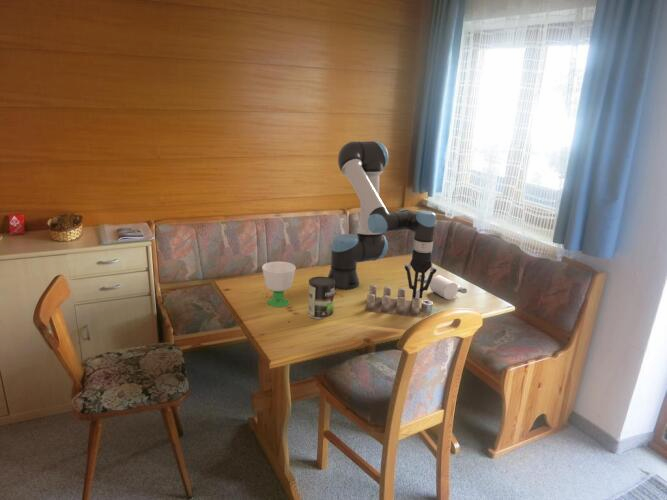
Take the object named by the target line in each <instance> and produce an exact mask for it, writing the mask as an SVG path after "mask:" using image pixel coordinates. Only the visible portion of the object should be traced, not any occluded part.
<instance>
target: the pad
mask: <svg viewBox="0 0 667 500" xmlns="http://www.w3.org/2000/svg"><path fill="white" fill-rule="evenodd" d="M439 311H441V308H440V307H432V312H429V313H426V314H427V317H429V316H428V315H431V314H434V313H436V312H439ZM441 312H442V311H441Z"/></svg>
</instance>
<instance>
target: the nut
mask: <svg viewBox="0 0 667 500" xmlns="http://www.w3.org/2000/svg"><path fill="white" fill-rule="evenodd" d="M433 304H434V303H433V301H432V300H428V299H423V300H421V303H420V312H424V313H426V314H427V313H429V312H432V308H434V307H433V306H434V305H433Z"/></svg>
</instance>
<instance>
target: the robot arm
mask: <svg viewBox="0 0 667 500" xmlns="http://www.w3.org/2000/svg"><path fill="white" fill-rule="evenodd" d="M388 163H389V152H388V149H387V147H386V146H385V145H384V144H383V143H382V142H380V141H374V140H373V141H353V140H352V141H349V142H347V143H345V144H344V145H342V147H341V148H340V150H339V152H338V155H337V165H338V168H339V170H340V172H341V174H342V175H343V176H346V178H347V179H348V181H349V183H350V185H351V186H352V188H353V190H354V192H355V194H356V196H357V197H358V199H359V201H360V228H359V230H357V233H356V234H357V235H356V234H354V233H341V234H338V235H336V236H334V238H333V239H332V240H331V241H332V242H331V246H330V247H331V256H330V257H331V258H330V259H331V260H330V270H329V273H327V277H329V278H332V279H334V280H335V291H336V290H341V291H342V290H353V289H356V288H358V287H359V286H360V280H359V275H358V273H357V263H363V262H364V263H365V262H370V261H371V262H374V261H377V260H381V259H384V257H385V256H386V254H387V251H388V248H389V243H388V240H387V238H386V236H385V235H384V233H392V232H403V231H409V232H412V233H414V237H413V245H412V247H413V249H412V255H411V260H410V263H408V264H404V270H405V271H406V275H407V282H408V288H409V289H411V290H412V293H413V298H415V299H419V300H420V299H422V298H423V292H425V291H428V289H429V288H430V282H431V280H432V278H434V274H436V272H437V267H435V266H433V264H432V255H433V252H432V251H433V246H434V238H435V230H436V224H437V216H436V213H435V212H433V211H429V210H419V211H417V212H413V211H411V210H409V209H399V210H397V211H396V212H389V211H388V209H387V208H386V206H385V204H384V203H383V200H382V199H381V198H380V176H381V175H382V174H383V173H384V168H386V167H387V165H388ZM411 269H413V271H414V282H412V281H413V279H412V276H411V275H412V274H411ZM429 270H430V272H429ZM427 272H429V274H428V276H429V277H428V279H427V282H424V277H425V275H426V273H427ZM420 273H421V274H420ZM419 274H420V275H421V281H420V284H419V288H418V281H419V280H418V279H419Z"/></svg>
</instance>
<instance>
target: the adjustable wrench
mask: <svg viewBox="0 0 667 500" xmlns="http://www.w3.org/2000/svg"><path fill="white" fill-rule="evenodd" d="M428 277H429V275H427V274H425V277H424V283H426V282H427V279H428ZM433 278H434V277H432V279H433ZM418 281H419V282H421V274H419V276H418ZM467 290H468V289H467V288H464V287H461V286H460V289H459V290H458V291H459V292H461V293H467V292H468V291H467ZM458 291H457V292H458Z"/></svg>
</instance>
